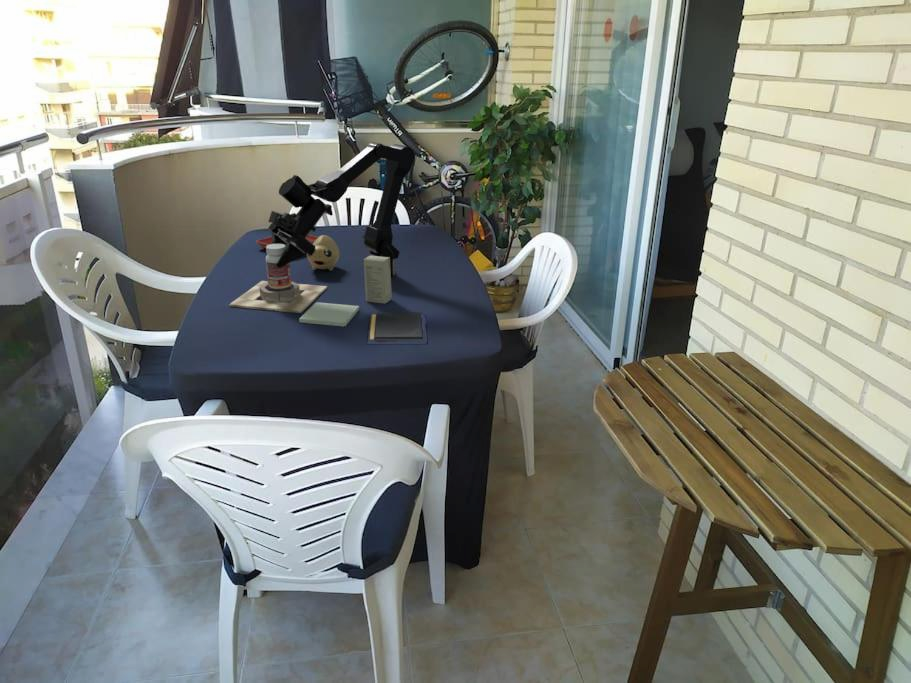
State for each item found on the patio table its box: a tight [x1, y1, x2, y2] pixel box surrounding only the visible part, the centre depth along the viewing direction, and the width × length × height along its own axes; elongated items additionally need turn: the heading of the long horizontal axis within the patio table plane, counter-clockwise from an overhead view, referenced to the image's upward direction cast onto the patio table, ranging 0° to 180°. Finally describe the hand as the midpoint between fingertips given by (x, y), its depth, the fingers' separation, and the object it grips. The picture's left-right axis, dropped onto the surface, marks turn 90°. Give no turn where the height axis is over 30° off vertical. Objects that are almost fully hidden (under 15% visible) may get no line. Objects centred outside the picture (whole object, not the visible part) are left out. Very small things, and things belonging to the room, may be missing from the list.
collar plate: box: [228, 280, 328, 314], centre depth 179 cm, size 20×20×3 cm
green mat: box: [298, 301, 360, 327], centre depth 168 cm, size 12×12×1 cm
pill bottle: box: [265, 244, 292, 289], centre depth 176 cm, size 6×6×11 cm
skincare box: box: [363, 254, 393, 305], centre depth 177 cm, size 6×4×12 cm
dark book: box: [367, 311, 423, 343], centre depth 162 cm, size 20×2×15 cm
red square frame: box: [255, 234, 319, 250], centre depth 223 cm, size 18×18×3 cm
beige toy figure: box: [306, 234, 340, 271], centre depth 200 cm, size 10×12×11 cm
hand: (272, 263), depth 175 cm, fingers closed on pill bottle, 6 cm apart
